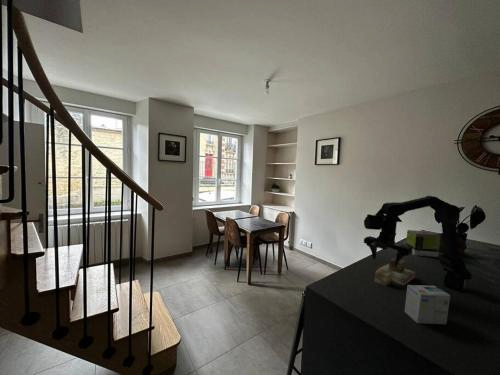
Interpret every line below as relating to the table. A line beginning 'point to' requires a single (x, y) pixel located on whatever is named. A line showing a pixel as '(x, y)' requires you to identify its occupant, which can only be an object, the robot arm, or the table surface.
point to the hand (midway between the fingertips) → (384, 262)
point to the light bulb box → (427, 304)
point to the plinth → (399, 275)
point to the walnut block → (399, 267)
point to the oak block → (383, 277)
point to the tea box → (423, 243)
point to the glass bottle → (460, 244)
